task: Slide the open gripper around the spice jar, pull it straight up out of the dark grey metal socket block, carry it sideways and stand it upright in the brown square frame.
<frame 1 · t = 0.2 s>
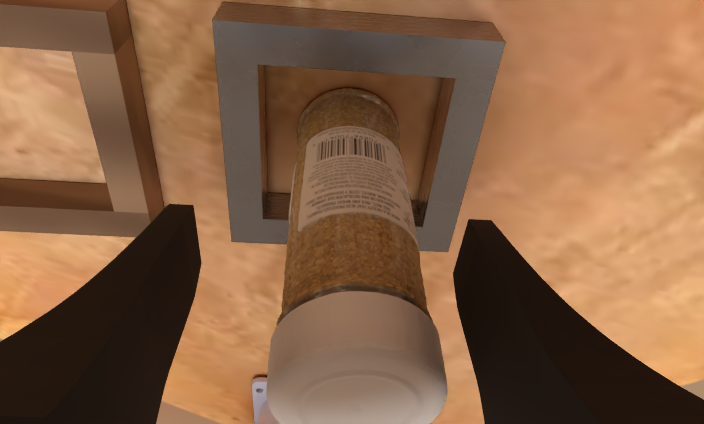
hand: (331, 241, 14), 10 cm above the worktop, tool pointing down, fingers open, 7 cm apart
spice jar: (349, 128, 23), resting in socket block
brown square frame: (23, 110, 22), on the worktop
socket block: (349, 131, 23), on the worktop
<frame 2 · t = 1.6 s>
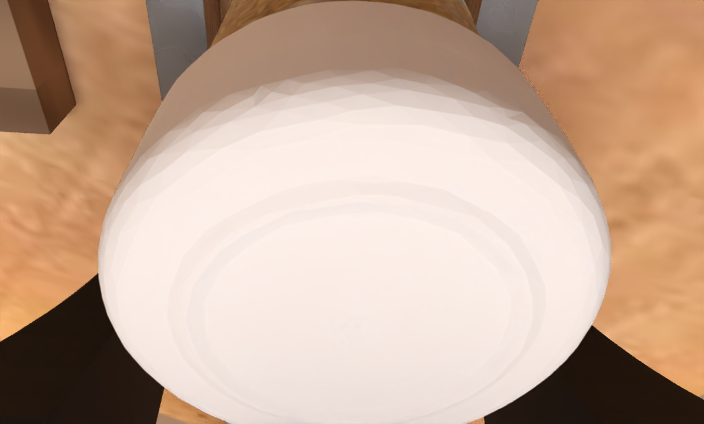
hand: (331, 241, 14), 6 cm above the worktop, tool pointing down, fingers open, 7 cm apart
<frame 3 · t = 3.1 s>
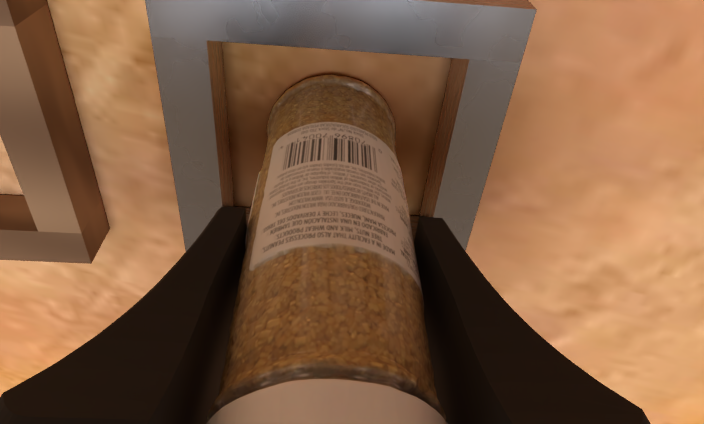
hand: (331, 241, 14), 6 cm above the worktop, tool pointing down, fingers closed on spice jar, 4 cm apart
spice jar: (333, 127, 19), resting in socket block, touching gripper
socket block: (333, 130, 18), on the worktop
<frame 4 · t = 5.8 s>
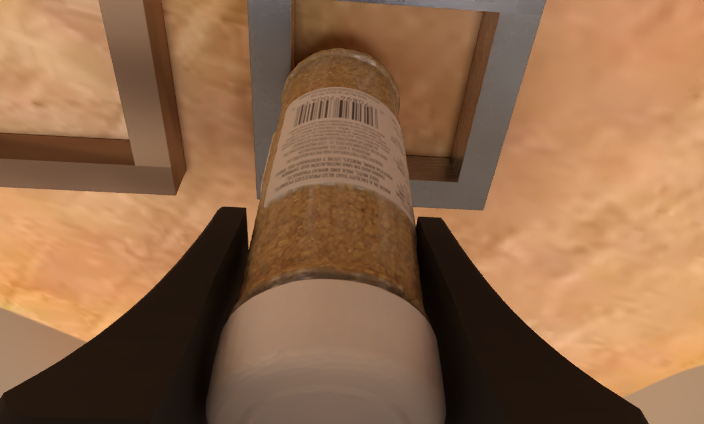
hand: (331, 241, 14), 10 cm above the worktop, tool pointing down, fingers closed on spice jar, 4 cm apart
spice jar: (342, 98, 20), point 2 cm above the worktop, touching gripper
brown square frame: (40, 57, 21), on the worktop
socket block: (381, 79, 22), on the worktop
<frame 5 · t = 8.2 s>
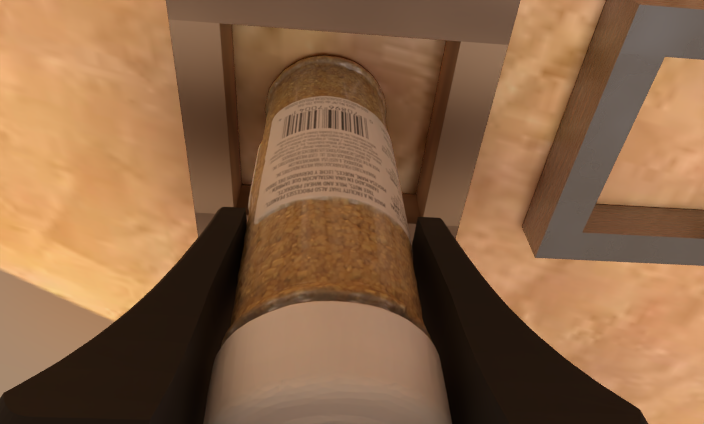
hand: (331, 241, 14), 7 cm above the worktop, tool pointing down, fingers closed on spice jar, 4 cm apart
spice jar: (327, 106, 20), resting in brown square frame, touching gripper
brown square frame: (335, 111, 20), on the worktop
socket block: (686, 133, 21), on the worktop
when the fingers open (7 cm above the worktop, at t = 8.8 s): spice jar stays where it is, resting in brown square frame.
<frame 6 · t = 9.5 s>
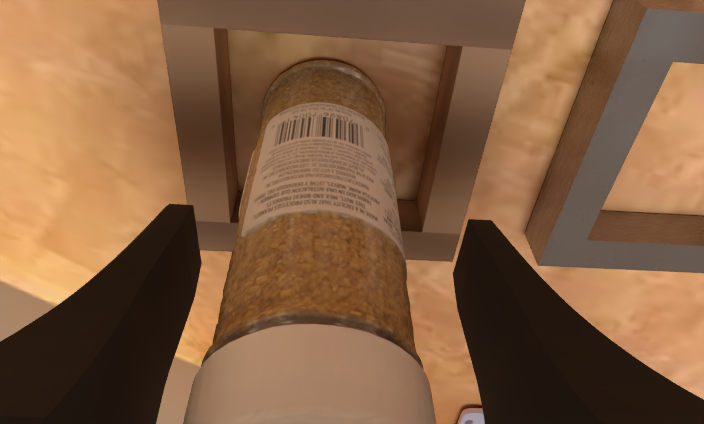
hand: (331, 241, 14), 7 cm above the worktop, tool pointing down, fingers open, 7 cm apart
spice jar: (325, 111, 19), resting in brown square frame
brown square frame: (333, 116, 19), on the worktop
socket block: (693, 139, 20), on the worktop
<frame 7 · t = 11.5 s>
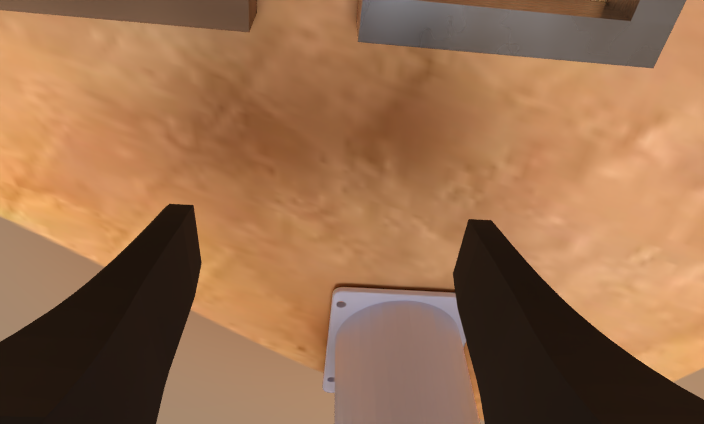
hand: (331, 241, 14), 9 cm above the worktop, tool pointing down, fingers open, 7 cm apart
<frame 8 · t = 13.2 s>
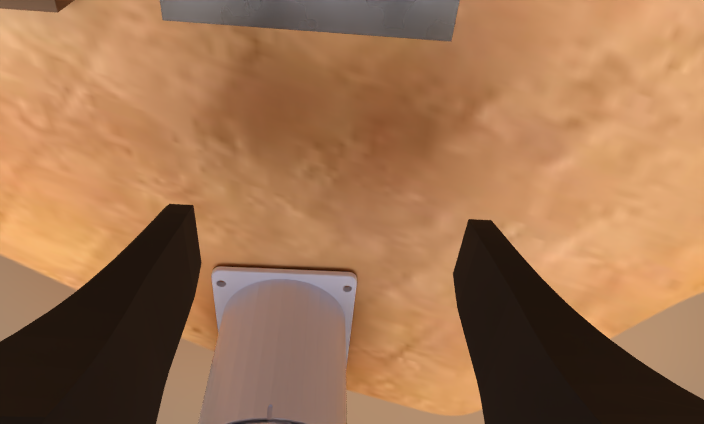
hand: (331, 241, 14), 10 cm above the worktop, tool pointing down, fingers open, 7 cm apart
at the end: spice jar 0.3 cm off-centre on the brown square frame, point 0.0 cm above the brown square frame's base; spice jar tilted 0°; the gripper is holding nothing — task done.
